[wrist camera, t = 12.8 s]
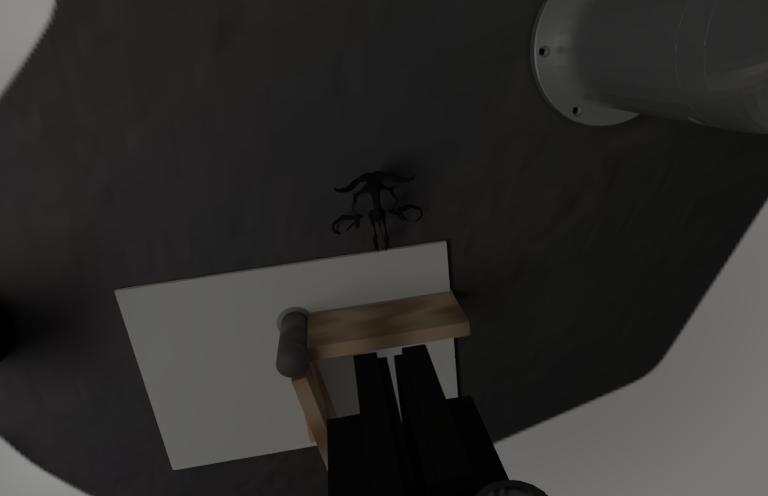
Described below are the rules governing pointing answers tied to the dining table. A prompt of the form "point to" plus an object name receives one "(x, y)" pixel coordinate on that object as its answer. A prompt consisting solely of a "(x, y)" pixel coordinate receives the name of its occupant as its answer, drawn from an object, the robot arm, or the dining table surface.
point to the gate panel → (315, 404)
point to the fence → (366, 330)
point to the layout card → (264, 347)
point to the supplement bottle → (6, 334)
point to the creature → (375, 201)
